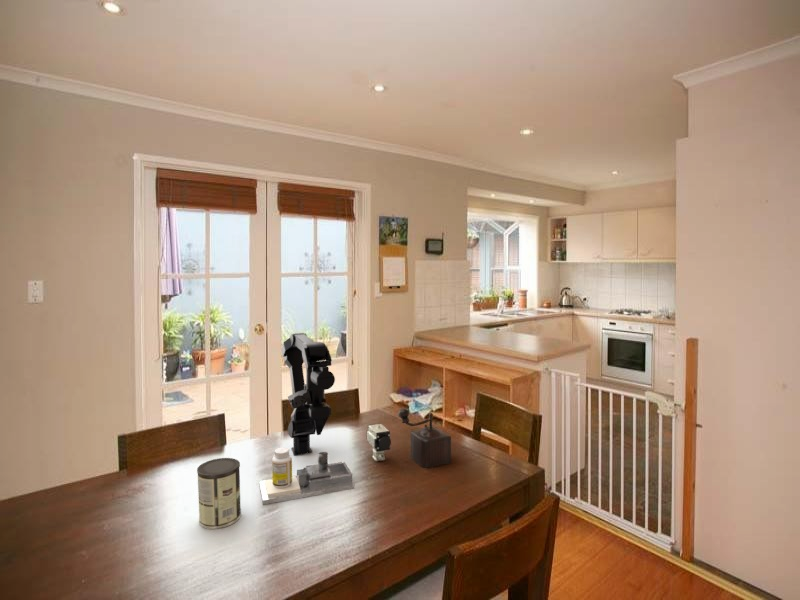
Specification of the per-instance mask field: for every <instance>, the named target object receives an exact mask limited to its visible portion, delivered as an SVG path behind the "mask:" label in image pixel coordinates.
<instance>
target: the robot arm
mask: <svg viewBox="0 0 800 600" xmlns="http://www.w3.org/2000/svg"><path fill="white" fill-rule="evenodd" d="M280 353H281V356H282V358H283V362H284V364H285V365H286V366H287V367H288V369H289V374H290V383H291V384H290V385H291V392H292V394H290V395H288V396H287V400H288V401H289V404H290V406H291V408H292V409H293V411H292V413H291V415H290V422H289V424H288V427H287V434H288V436H289V437H290V439H293V442H292V444H293V445H292V447H291V448H290V449H291V452H292V455H293V456H299V455H301V456H302V455H307V454H308V455H309V454H312V453H313V449H312V448H311V437H310V435H315V434H316V435H317V436H319V435H320V436H321V434H322V432H323V429H324V427H325V425H326V423H327V422H328V419H329V418H330V416H331V415H332V408H331V407H330V405H329V404H327V403H326V402H327V399H326V396H325V390H329V389H331V388H332V387H333V385H334V384H335V382H336V377H335V375H334V373H333V372H331V371H330V370H329V367H330V366H332V361H333V359H332V356H331V354H330V350H329V348H328V346H327V345H326V343H324V342H321V341H314V340H313V339H311V338H310V337H309V336H307V334H306V333H305V332H294V333H292V334H291V335H290V336H289V338H288V339H286V340H285V341H283V343H282V346H281V352H280ZM303 364H304V365H305V377H306V379H305V377H304V370H303ZM305 381H306V382H305ZM305 383H306V384H305Z"/></svg>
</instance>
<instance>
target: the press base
mask: <svg viewBox="0 0 800 600" xmlns="http://www.w3.org/2000/svg"><path fill="white" fill-rule="evenodd" d="M328 468H329V470H330V477H327V478H321V479H315V480H309V484H306V485H300V492H294V493H288V494H282V495H277V496H271V497H268V495H267V490H266V485H265V480H260V481H259V489H260V495H261V501H262V505H268V504H274V503H280V502H286V501H287V502H288V501H290V500H297V499H298V500H299V499H302V498H309V497H314V496H320V495H325V494H330V493H336V492H337V493H338V492H343V491H346V490H348V491H349V490H353V489H355V484H354V482H353V481H354V480H353V473H352V471H351V470H350V468H349V467H348V464H347V463H346V462H345V461H344V462H342V461H339V462H338V461H337V462H332V463H328ZM303 469H306V467H303ZM296 478H297V475H296Z"/></svg>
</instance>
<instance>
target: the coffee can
mask: <svg viewBox="0 0 800 600" xmlns="http://www.w3.org/2000/svg"><path fill="white" fill-rule="evenodd" d="M240 467H241V463H240V461H239V460H238V459H236V458H231V457H220V458H215V459H210V460H208V461H205V462H203V463H201V464H200V465H199V466H198V467H197V469H196V474H197V487H198V488H197V491H198V513H199V517H198V518H199V520H198V523H199V526H200V527H202V528H205V529H207V528H208V529H209V530H218V528H219V529H223V528H226V526H227V527H229V526H232V525H233V524H235V523H236V522H238V520H239V519H240V518H241V516H242V511H241V510H242V509H241V487H240V486H241V479H240Z"/></svg>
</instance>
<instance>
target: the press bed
mask: <svg viewBox="0 0 800 600" xmlns="http://www.w3.org/2000/svg"><path fill="white" fill-rule="evenodd" d="M296 476H297V474H295V475H292V483H291V484H290V485H289V486H287V487H284V488H277V487H274V486H273V479H272V478H270V479H265V480H264V481H265V485H266V490H267V495H268V497H271V496H277V495H282V494H288V493H294V492H300V486H299V483H298V480H297V478H296Z"/></svg>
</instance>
